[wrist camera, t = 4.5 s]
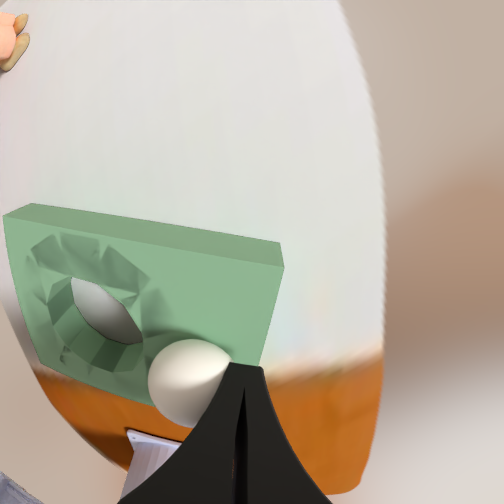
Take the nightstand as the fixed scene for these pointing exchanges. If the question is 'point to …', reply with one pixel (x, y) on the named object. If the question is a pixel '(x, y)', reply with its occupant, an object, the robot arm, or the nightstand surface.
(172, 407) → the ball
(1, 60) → the grandmother figurine
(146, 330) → the green
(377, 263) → the nightstand surface
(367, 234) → the nightstand surface
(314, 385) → the nightstand surface
